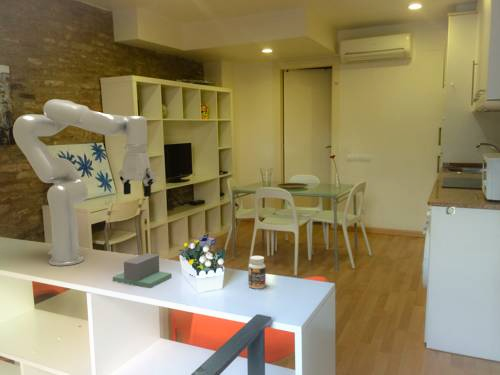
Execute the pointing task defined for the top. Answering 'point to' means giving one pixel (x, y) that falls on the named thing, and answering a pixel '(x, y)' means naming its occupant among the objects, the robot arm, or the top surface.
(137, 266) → the block
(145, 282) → the board
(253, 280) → the pill bottle
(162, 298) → the top surface
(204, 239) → the ink cartridge box
